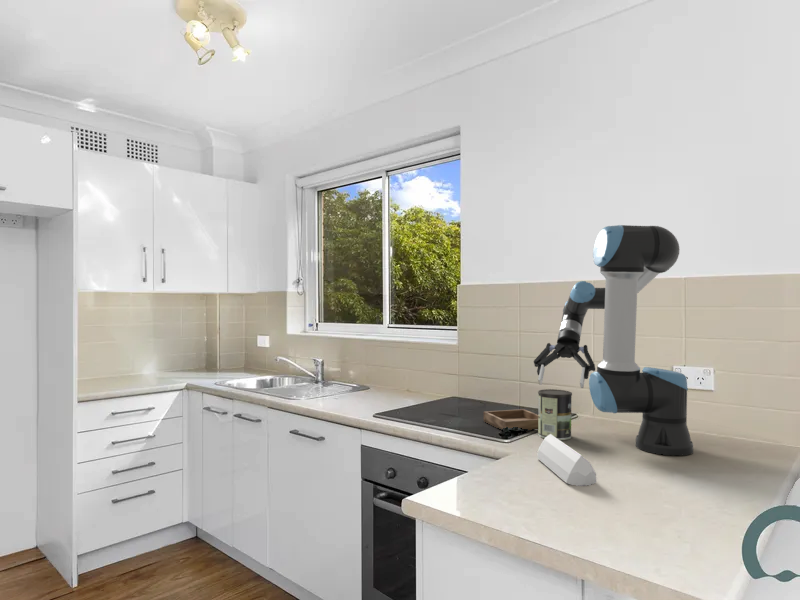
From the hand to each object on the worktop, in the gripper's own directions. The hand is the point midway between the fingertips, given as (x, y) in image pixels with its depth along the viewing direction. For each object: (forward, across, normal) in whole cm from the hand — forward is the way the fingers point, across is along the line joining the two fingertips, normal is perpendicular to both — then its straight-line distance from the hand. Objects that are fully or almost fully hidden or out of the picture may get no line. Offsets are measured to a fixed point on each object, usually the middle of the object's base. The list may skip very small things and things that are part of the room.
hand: (560, 384), depth 180 cm
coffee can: (+18, 0, -4) cm, 18 cm away
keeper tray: (+12, +15, -9) cm, 21 cm away
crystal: (+41, -10, +19) cm, 47 cm away
